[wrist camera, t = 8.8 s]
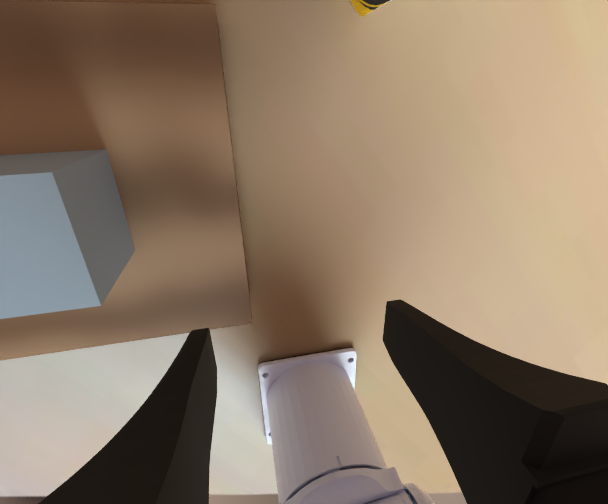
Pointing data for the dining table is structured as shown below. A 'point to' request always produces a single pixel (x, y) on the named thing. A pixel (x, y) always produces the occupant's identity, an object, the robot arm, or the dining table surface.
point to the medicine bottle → (367, 6)
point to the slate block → (59, 232)
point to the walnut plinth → (132, 159)
